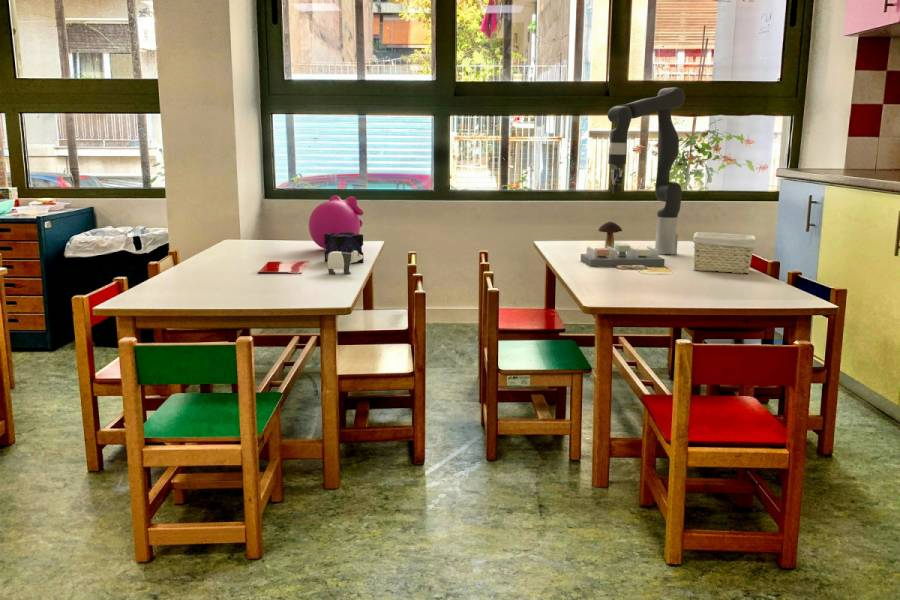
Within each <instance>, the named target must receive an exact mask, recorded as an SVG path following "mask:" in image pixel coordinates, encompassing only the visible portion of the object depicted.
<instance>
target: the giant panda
mask: <svg viewBox="0 0 900 600" xmlns="http://www.w3.org/2000/svg"><path fill="white" fill-rule="evenodd" d="M362 258H363V259H364V254H363V255H360V254H359V253H358V252H357V251H354V250H352V252H351V253H347V252H338V251H335V252H330V253H329V254H327V255H326V259H328V262H327V270H328V275H330V276H331V275H333V276H335V275H336V271H335V270H343V274H344V275H352V273H351V271H350V267H351V264H353V262H357V261H359V260H361V259H362Z"/></svg>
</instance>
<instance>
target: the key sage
mask: <svg viewBox="0 0 900 600" xmlns="http://www.w3.org/2000/svg"><path fill="white" fill-rule="evenodd" d="M630 247H631V245H629V244H626V243H616V244H615V243H614V249H616V250H618V254H619V256H626V254H627V252H630Z"/></svg>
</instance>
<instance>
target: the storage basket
mask: <svg viewBox="0 0 900 600" xmlns="http://www.w3.org/2000/svg"><path fill="white" fill-rule="evenodd" d="M692 241H693V242H692V243H694V246H693V249H694V251H693V253H694V254H693V270H694V271H701V272H711V271H714V272H715V271H718V273H723V272H732V273H731V274H739V273H749V274H750V268H751V265H752V264H751V263H752V259H753V258H752V257H753V253H754V249H755V248H756V241H757V238H756V236H755V235H753V234H752V235H749V234H739V233H738V234H737V233H724V232H721V233H720V232H706V231H705V232H704V231H703V232H702V231H696V232H695V233H694V234H693V239H692ZM714 272H713V273H714ZM715 273H716V272H715Z"/></svg>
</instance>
